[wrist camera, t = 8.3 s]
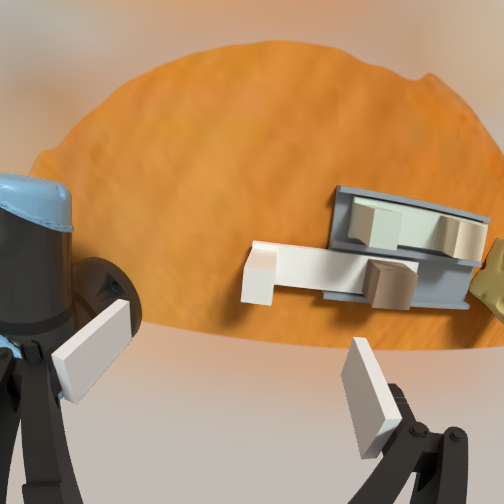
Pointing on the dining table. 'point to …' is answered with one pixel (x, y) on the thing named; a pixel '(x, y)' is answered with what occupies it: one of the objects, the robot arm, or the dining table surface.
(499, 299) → the cheese
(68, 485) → the robot arm
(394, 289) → the walnut block
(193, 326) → the dining table surface
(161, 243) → the dining table surface
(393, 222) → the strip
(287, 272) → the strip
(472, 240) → the maple block
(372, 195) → the lane board
